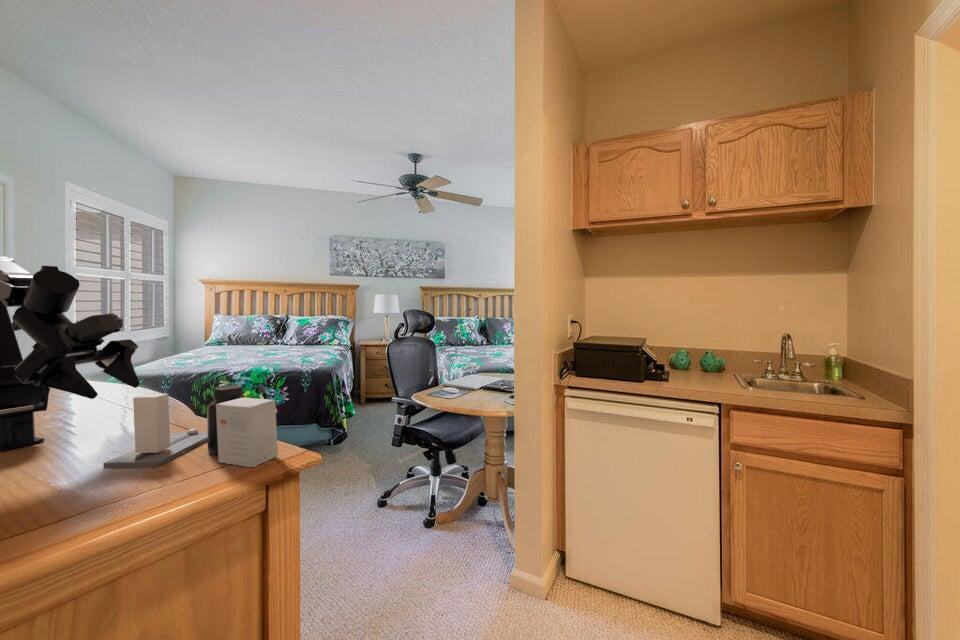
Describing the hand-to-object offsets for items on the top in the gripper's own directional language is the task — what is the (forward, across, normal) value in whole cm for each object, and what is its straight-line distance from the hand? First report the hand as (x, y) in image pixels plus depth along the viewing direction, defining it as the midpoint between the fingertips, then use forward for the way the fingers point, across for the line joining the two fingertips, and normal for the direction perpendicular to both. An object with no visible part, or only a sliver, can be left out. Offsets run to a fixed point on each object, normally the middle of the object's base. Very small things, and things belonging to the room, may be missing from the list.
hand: (117, 391), depth 76 cm
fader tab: (+12, 0, +3) cm, 12 cm away
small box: (+26, -3, -9) cm, 28 cm away
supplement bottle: (+21, +3, -4) cm, 22 cm away
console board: (+13, +4, +4) cm, 14 cm away
